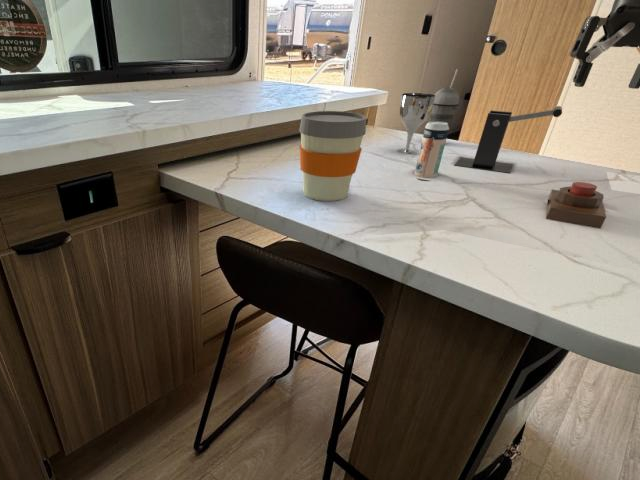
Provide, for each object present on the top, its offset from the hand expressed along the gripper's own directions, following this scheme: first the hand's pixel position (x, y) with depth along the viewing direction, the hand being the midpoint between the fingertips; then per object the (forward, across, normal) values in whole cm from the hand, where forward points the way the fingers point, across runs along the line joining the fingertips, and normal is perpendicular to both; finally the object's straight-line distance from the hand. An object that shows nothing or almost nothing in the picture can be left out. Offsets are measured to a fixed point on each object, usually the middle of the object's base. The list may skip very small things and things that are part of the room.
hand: (605, 87), depth 73 cm
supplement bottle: (+20, -25, +7) cm, 33 cm away
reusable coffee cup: (+21, -46, -8) cm, 51 cm away
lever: (+9, -5, +17) cm, 20 cm away
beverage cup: (+20, -18, +40) cm, 48 cm away
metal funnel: (+20, -27, +27) cm, 43 cm away
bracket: (+20, -10, +19) cm, 29 cm away
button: (+17, -1, -9) cm, 19 cm away
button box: (+20, -1, -9) cm, 22 cm away
